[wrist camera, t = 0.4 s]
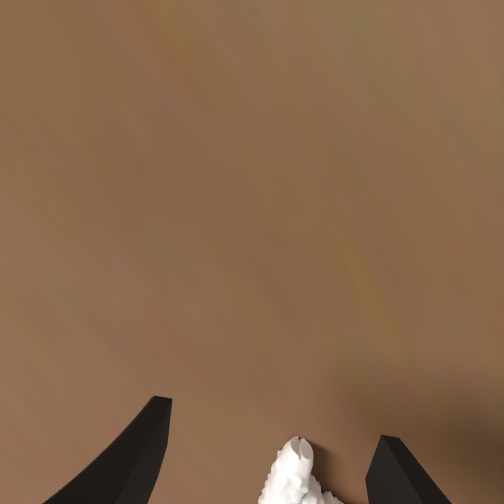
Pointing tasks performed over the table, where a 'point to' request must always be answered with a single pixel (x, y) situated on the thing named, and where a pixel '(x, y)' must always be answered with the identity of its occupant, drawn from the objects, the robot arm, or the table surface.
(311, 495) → the sitting furry creature
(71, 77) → the table surface
